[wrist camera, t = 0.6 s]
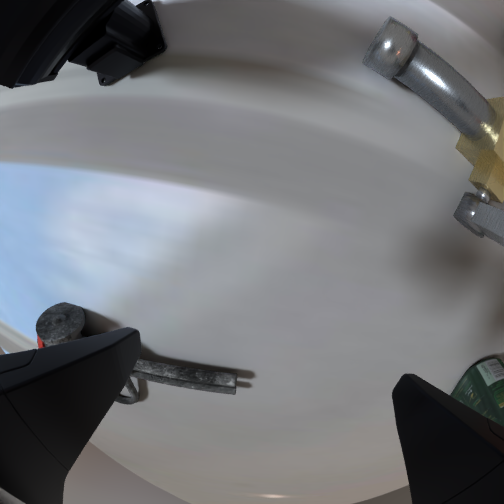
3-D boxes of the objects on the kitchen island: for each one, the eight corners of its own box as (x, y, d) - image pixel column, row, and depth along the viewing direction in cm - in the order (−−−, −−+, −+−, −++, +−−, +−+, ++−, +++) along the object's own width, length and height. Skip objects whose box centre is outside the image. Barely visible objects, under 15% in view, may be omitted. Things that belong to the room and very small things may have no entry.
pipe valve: (340, 101, 16) (357, 83, 11) (379, 29, 13) (400, 0, 8) (497, 230, 17) (531, 248, 12) (524, 164, 14) (558, 171, 9)
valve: (77, 367, 33) (38, 290, 26) (240, 404, 32) (239, 325, 24) (60, 396, 28) (9, 322, 20) (234, 446, 26) (229, 382, 19)
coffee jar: (474, 402, 24) (511, 498, 6) (435, 411, 25) (467, 524, 7) (507, 350, 20) (567, 450, 3) (469, 357, 21) (531, 482, 4)
